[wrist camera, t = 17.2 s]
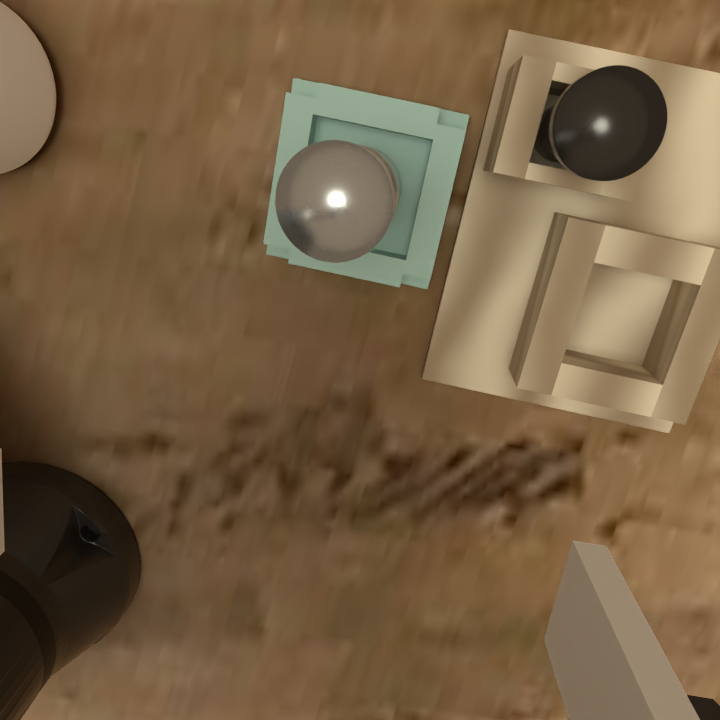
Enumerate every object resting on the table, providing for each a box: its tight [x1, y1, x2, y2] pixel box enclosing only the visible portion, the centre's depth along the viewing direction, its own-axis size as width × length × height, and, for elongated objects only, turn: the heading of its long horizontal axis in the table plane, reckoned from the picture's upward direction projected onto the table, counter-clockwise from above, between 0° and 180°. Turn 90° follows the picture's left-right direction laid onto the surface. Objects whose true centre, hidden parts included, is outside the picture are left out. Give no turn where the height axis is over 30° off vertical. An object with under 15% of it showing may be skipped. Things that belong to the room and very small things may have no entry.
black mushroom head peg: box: [534, 65, 667, 181], centre depth 30 cm, size 4×4×9 cm
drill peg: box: [275, 140, 402, 263], centre depth 30 cm, size 4×4×14 cm
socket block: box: [422, 29, 720, 433], centre depth 35 cm, size 16×20×6 cm
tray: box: [263, 78, 469, 289], centre depth 36 cm, size 10×10×3 cm
